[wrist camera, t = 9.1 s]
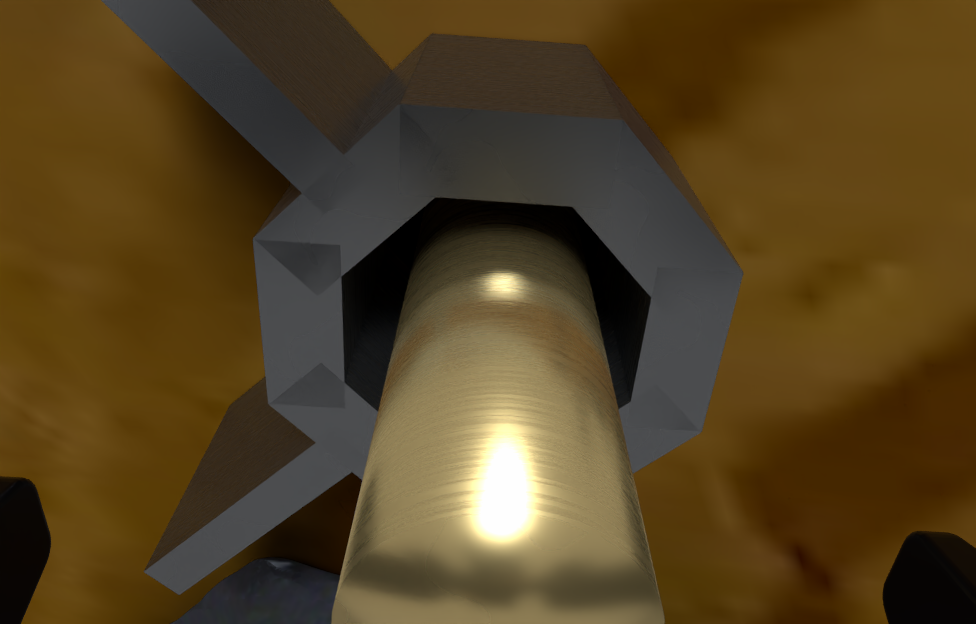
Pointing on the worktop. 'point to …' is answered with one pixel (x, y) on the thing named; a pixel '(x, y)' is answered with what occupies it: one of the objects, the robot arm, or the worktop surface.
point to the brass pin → (498, 440)
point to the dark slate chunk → (268, 596)
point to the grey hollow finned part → (392, 202)
